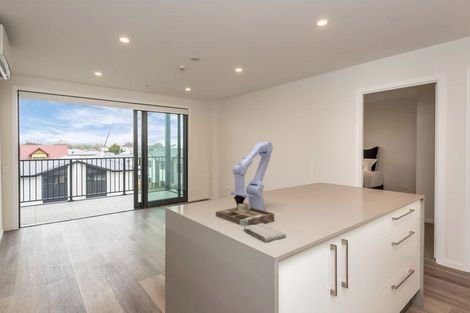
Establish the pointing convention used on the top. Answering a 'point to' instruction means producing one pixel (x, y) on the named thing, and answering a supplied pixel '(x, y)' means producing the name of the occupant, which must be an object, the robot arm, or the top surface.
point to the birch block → (244, 207)
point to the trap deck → (246, 216)
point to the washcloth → (264, 232)
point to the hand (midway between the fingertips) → (239, 208)
